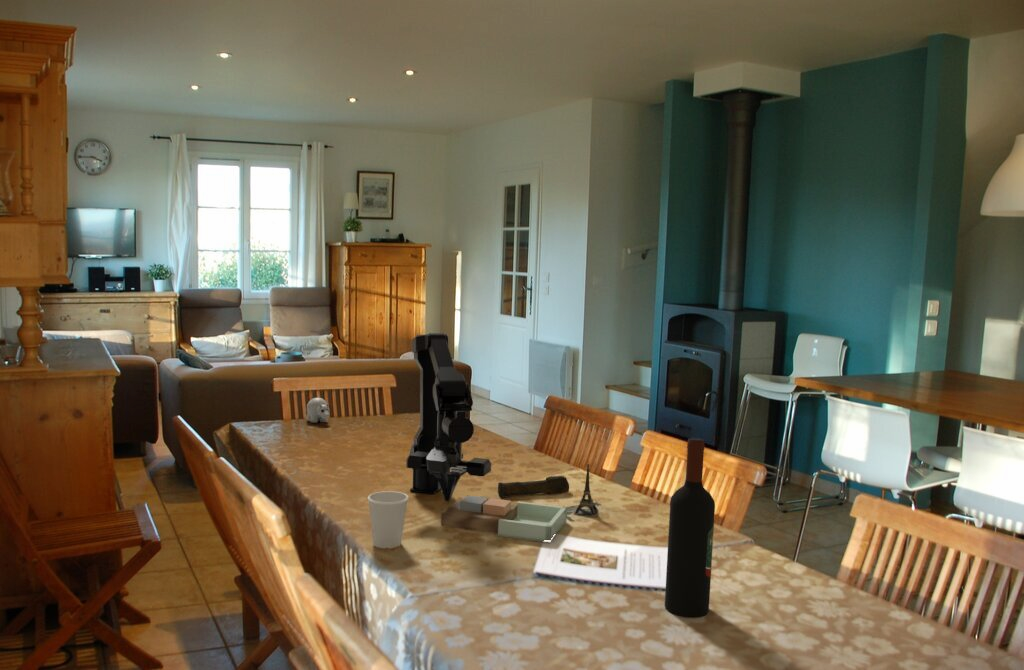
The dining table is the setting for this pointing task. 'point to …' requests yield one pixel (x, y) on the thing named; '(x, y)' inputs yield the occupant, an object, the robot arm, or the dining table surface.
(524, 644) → the dining table surface
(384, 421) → the dining table surface
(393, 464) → the dining table surface
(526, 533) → the tray
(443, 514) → the plate
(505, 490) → the hand tool
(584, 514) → the eiffel tower figurine
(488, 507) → the tile terracotta
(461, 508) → the tile slate
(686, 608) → the wine bottle
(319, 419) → the chubby cartoon animal
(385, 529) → the dixie cup
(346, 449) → the dining table surface
